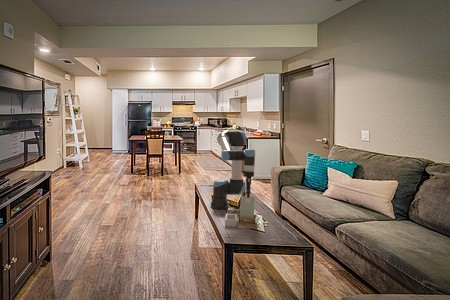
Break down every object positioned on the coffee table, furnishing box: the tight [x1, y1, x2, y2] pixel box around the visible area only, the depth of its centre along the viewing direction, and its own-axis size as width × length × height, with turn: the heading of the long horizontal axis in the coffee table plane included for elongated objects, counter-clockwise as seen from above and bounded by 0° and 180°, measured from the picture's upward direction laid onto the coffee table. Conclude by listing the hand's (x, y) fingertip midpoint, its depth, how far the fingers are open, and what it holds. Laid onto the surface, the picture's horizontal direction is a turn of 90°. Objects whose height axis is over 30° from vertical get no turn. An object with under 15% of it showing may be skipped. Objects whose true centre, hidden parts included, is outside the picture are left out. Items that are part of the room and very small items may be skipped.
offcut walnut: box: [239, 219, 253, 224], centre depth 237 cm, size 4×9×2 cm, turn 92°
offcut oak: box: [243, 217, 252, 221], centre depth 237 cm, size 4×6×2 cm, turn 87°
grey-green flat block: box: [239, 195, 256, 223], centre depth 242 cm, size 3×10×20 cm, turn 88°
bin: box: [224, 213, 237, 228], centre depth 241 cm, size 14×8×5 cm, turn 177°
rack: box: [236, 212, 258, 229], centre depth 240 cm, size 14×14×6 cm
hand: (247, 199), depth 241 cm, fingers open, 13 cm apart
